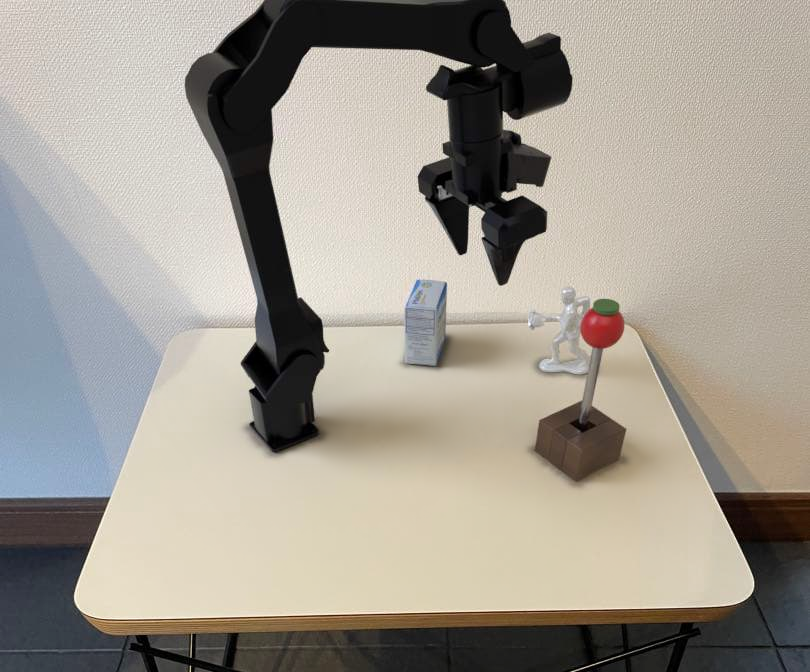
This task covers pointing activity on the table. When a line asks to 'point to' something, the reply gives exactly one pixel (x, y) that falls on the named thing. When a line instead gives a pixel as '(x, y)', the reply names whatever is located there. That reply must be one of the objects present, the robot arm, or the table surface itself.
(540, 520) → the table surface
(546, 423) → the stand
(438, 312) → the medicine box
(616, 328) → the lever
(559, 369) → the figurine
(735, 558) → the table surface
